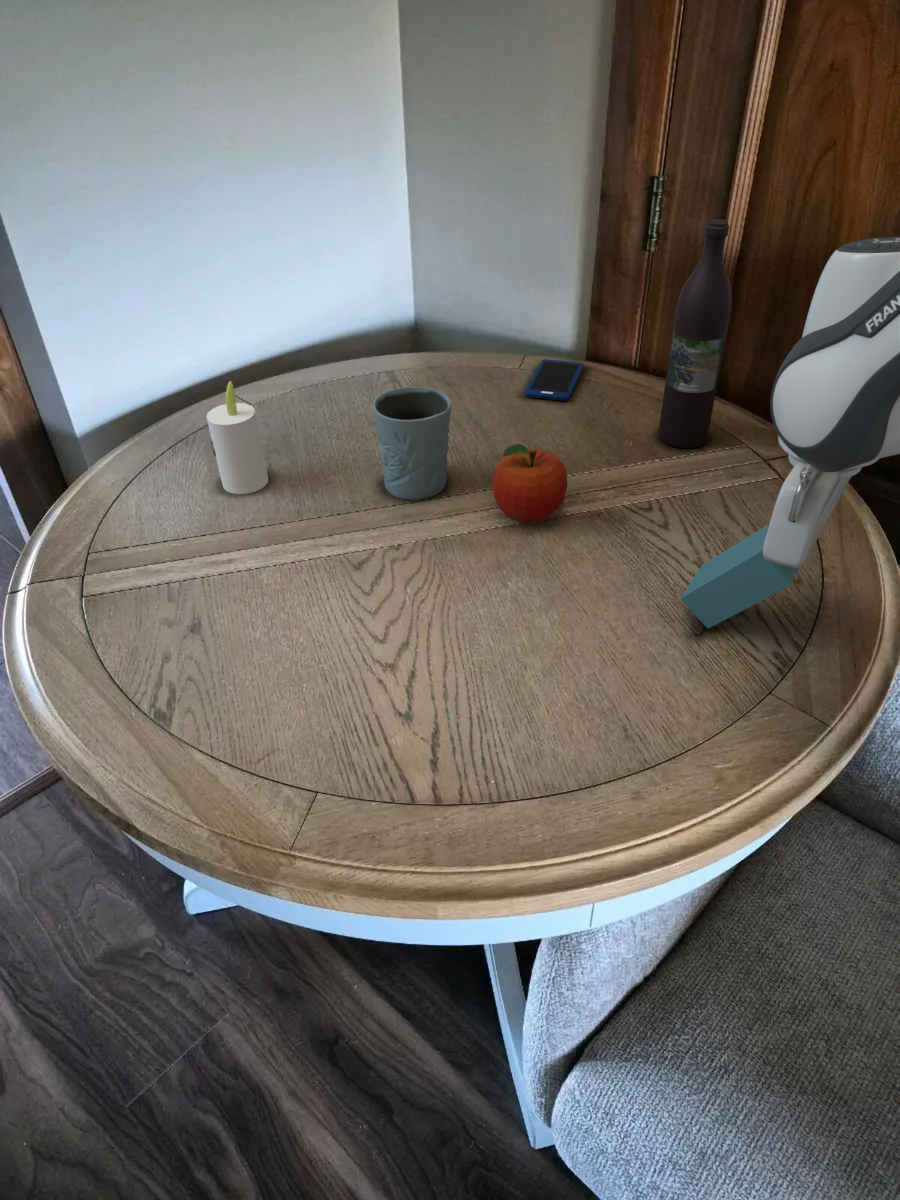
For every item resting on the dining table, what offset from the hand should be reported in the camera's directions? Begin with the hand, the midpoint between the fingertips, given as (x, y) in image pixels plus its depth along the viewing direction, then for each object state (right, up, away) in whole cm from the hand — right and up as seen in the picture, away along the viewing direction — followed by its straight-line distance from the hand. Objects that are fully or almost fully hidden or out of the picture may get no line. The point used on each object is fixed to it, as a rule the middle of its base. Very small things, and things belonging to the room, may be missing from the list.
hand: (797, 555), depth 82 cm
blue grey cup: (-39, +12, +32) cm, 52 cm away
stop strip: (-6, -6, +9) cm, 12 cm away
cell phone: (-17, +32, +55) cm, 66 cm away
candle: (-63, +12, +33) cm, 73 cm away
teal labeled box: (-2, -3, +5) cm, 6 cm away
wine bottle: (0, +19, +40) cm, 44 cm away
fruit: (-24, +7, +25) cm, 36 cm away
